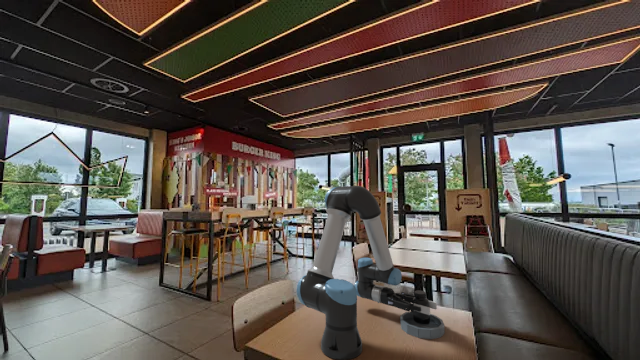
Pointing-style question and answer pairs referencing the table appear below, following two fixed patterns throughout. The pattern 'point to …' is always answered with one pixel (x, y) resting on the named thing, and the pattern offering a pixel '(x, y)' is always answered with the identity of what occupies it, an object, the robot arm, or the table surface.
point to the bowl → (422, 326)
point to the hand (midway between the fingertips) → (432, 308)
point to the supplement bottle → (422, 300)
